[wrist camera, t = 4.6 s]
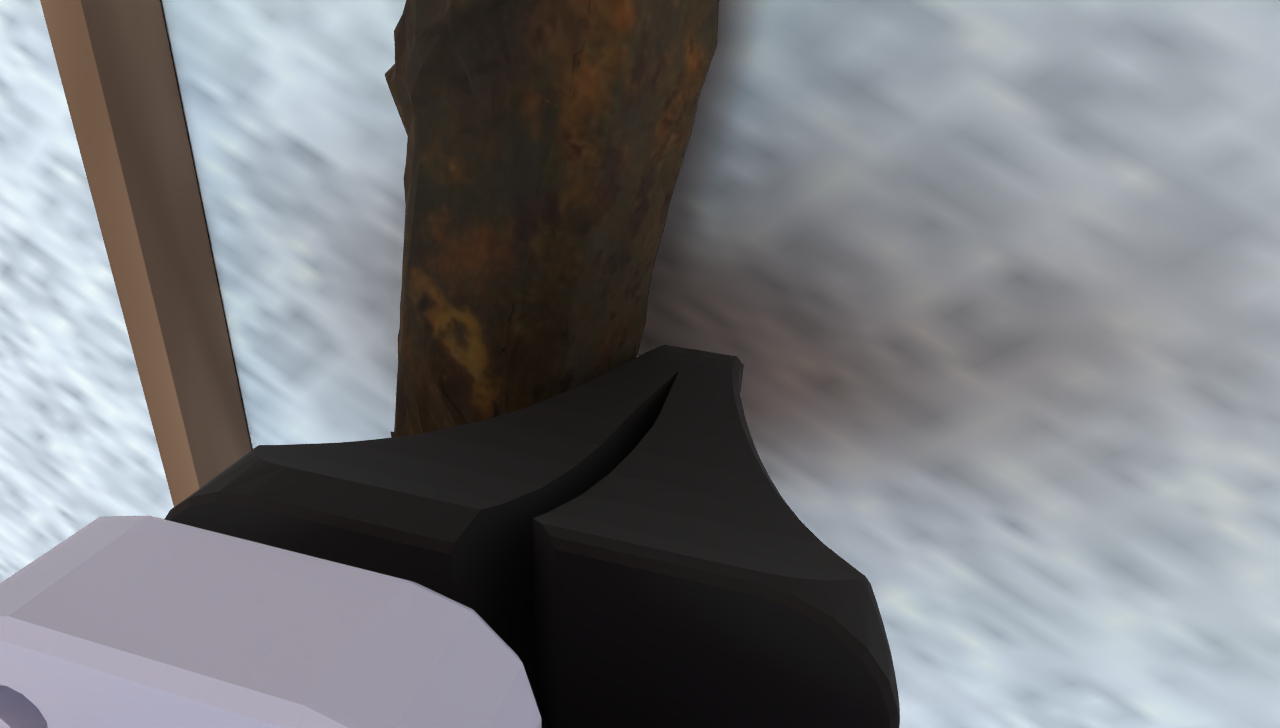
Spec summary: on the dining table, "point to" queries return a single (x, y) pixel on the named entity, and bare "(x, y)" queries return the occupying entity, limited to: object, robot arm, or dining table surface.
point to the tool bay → (152, 228)
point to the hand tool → (534, 191)
